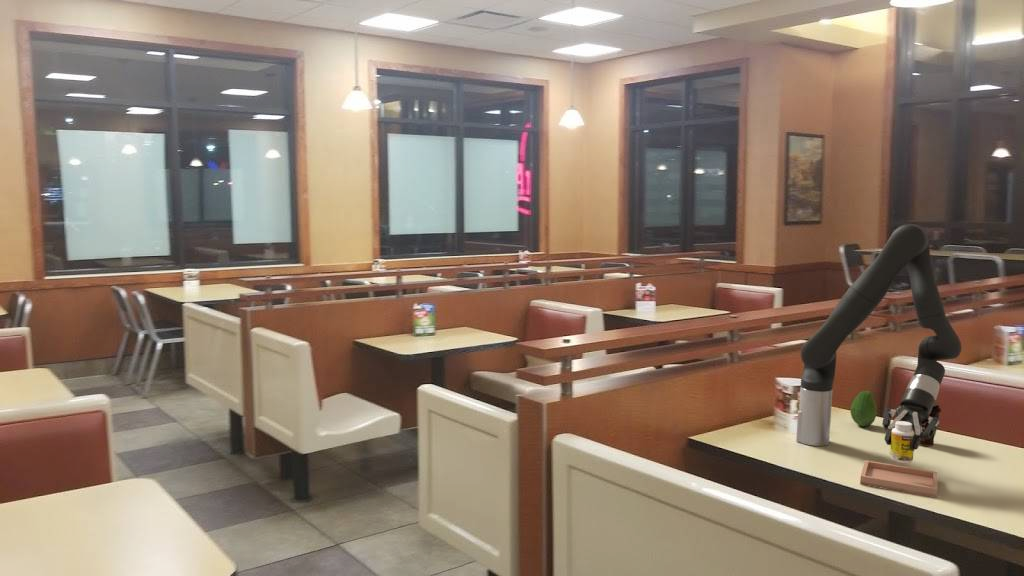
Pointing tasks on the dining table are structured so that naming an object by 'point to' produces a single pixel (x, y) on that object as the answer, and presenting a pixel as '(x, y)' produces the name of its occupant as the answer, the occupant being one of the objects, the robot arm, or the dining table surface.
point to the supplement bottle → (901, 442)
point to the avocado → (863, 409)
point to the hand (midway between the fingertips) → (899, 446)
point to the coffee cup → (933, 414)
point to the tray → (900, 478)
